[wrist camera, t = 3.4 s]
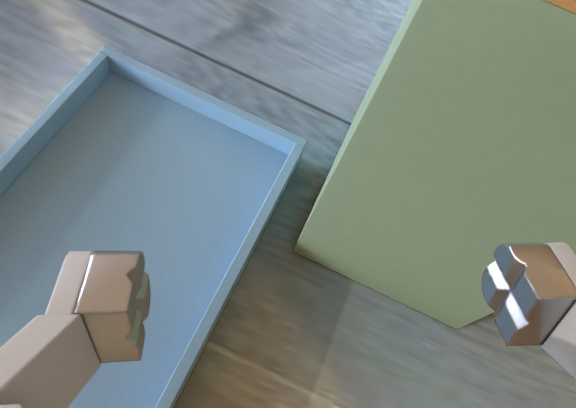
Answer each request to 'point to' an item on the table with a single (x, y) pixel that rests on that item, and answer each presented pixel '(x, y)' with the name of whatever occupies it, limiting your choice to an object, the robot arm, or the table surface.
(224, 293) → the tray
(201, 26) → the table surface
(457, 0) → the plinth
